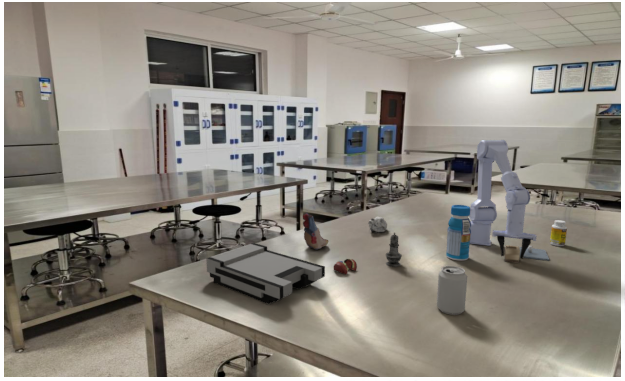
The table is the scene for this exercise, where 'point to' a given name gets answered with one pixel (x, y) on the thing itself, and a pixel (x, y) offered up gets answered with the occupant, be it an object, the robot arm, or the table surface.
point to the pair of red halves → (345, 266)
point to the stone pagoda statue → (393, 252)
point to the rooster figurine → (312, 233)
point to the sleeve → (512, 253)
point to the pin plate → (535, 253)
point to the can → (452, 290)
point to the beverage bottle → (459, 233)
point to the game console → (262, 272)
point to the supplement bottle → (558, 233)
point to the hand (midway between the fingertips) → (511, 256)
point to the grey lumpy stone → (377, 224)
